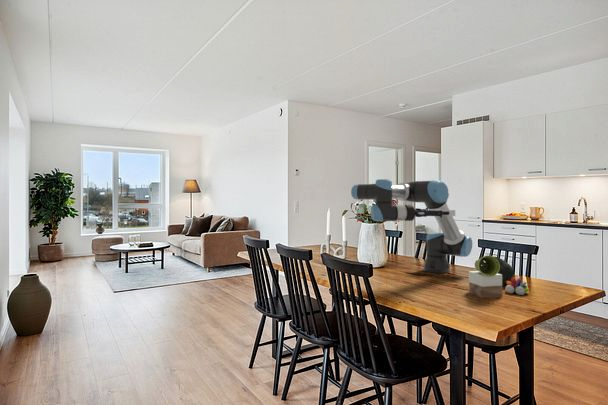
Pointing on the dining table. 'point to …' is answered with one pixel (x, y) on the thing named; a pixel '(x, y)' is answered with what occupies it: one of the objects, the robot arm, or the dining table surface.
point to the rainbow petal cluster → (516, 286)
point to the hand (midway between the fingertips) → (448, 212)
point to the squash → (505, 271)
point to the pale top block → (484, 279)
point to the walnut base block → (485, 290)
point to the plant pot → (487, 265)
